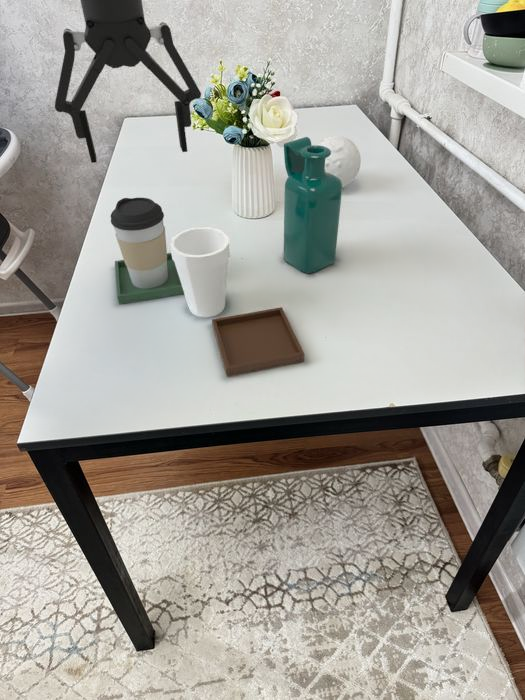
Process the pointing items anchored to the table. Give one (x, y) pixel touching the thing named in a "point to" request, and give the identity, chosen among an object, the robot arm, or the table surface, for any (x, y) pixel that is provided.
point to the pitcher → (310, 207)
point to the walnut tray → (256, 341)
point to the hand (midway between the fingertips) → (139, 154)
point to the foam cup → (202, 268)
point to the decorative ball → (342, 158)
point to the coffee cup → (141, 240)
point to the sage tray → (134, 294)
